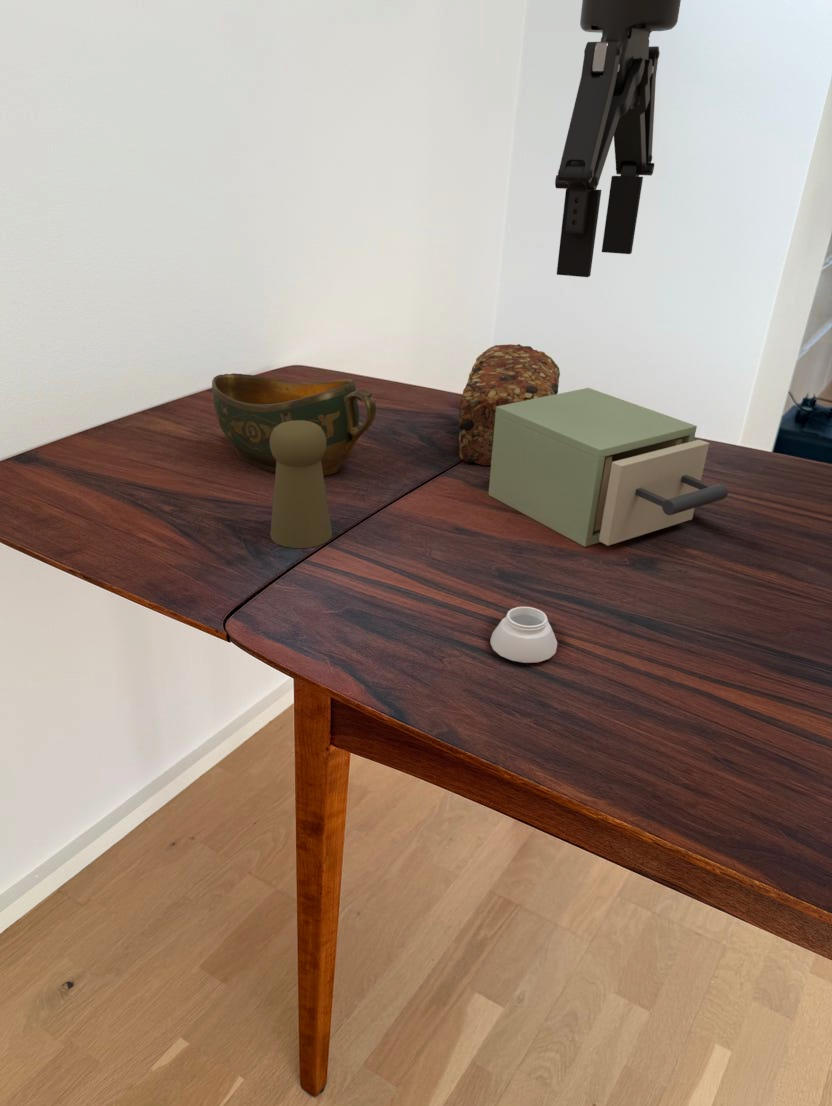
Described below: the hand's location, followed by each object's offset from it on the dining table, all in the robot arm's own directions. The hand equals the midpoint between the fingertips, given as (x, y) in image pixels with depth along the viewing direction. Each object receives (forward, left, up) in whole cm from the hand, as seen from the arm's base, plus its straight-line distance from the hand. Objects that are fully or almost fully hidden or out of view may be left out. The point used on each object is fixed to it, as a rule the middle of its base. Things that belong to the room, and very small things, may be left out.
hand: (596, 263), depth 79 cm
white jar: (-20, +22, -24) cm, 38 cm away
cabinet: (-2, -1, -23) cm, 23 cm away
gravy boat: (+25, +19, -24) cm, 39 cm away
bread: (+17, -7, -24) cm, 30 cm away
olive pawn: (+7, +27, -24) cm, 37 cm away
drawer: (-7, -1, -22) cm, 23 cm away
